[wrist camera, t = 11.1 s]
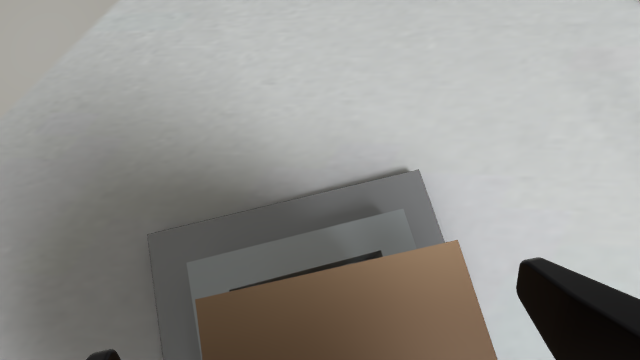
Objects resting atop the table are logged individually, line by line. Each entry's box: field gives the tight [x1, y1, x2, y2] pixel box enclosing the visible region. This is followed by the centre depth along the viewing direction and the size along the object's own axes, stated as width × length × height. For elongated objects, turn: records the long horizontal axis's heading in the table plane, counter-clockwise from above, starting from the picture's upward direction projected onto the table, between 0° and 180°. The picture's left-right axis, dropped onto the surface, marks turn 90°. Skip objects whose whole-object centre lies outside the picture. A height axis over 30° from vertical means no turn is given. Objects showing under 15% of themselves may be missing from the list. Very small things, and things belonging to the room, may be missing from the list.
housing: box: [147, 170, 445, 360], centre depth 17 cm, size 14×14×4 cm
